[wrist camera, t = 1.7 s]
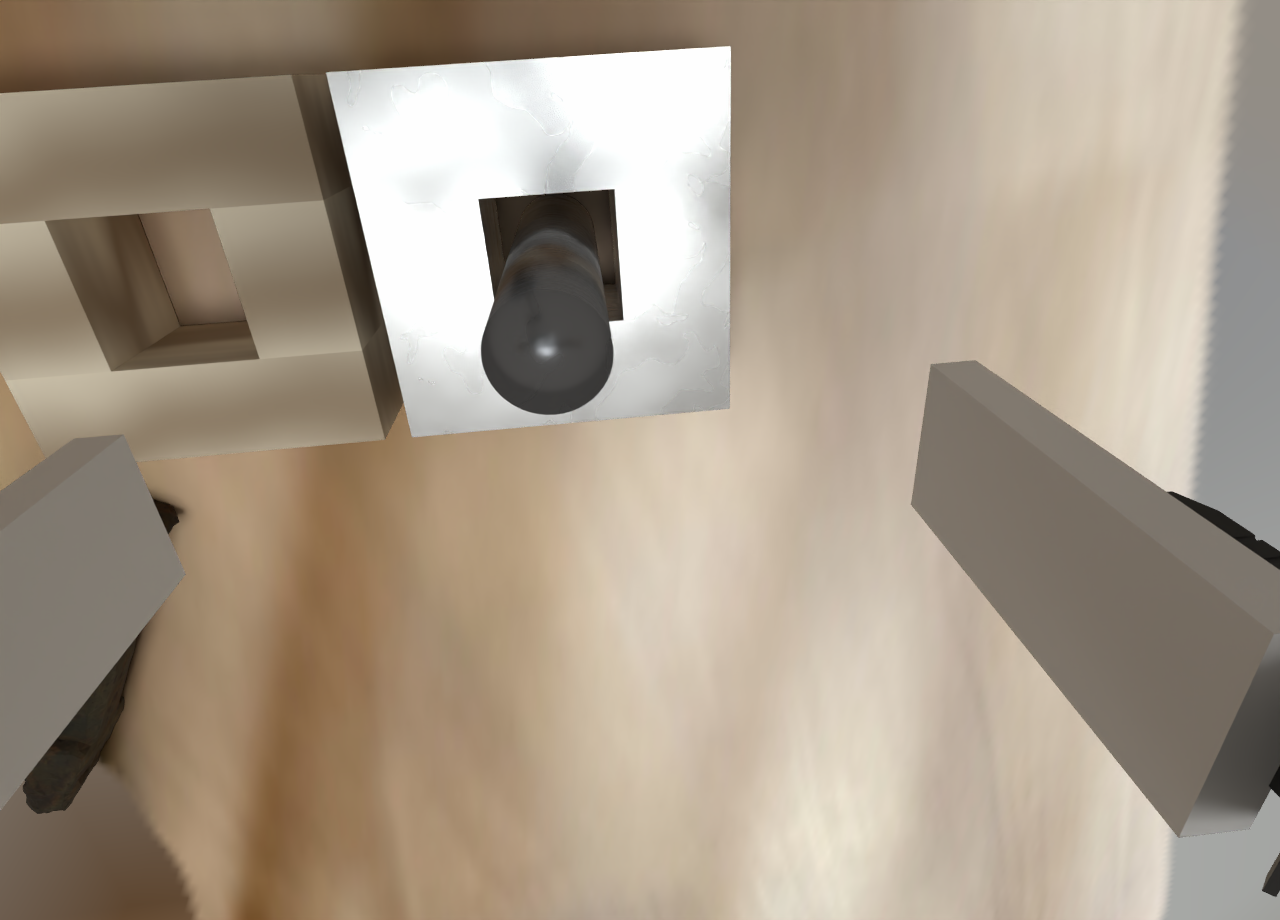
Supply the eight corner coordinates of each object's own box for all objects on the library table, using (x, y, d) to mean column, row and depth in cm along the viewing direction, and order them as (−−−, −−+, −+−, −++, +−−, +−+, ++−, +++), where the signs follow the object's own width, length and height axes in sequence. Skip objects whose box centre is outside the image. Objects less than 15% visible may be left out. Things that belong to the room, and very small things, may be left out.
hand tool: (95, 470, 32) (26, 528, 28) (190, 502, 33) (137, 563, 29) (35, 742, 39) (-27, 820, 35) (114, 761, 40) (63, 838, 36)
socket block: (367, 72, 25) (325, 72, 21) (703, 50, 26) (730, 46, 22) (434, 385, 31) (412, 437, 27) (707, 362, 32) (729, 408, 27)
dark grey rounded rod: (513, 196, 28) (470, 295, 15) (590, 191, 28) (608, 284, 16) (523, 273, 29) (491, 420, 17) (597, 268, 29) (618, 409, 17)
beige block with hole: (-15, 97, 25) (-140, 102, 20) (338, 74, 25) (290, 74, 21) (125, 412, 30) (51, 469, 26) (410, 387, 31) (385, 439, 27)
